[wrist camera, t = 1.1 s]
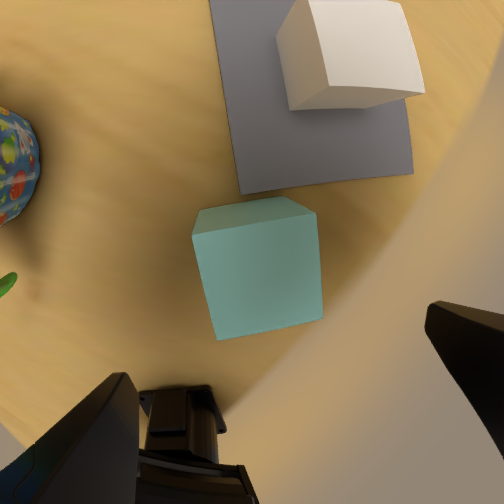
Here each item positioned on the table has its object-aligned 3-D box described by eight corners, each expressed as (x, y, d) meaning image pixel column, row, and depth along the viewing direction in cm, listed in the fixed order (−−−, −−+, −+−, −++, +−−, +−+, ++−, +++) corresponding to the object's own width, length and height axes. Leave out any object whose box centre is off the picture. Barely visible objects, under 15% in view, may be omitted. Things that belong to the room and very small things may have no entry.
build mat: (408, 173, 17) (413, 174, 17) (240, 194, 16) (240, 195, 16) (372, 0, 13) (376, -3, 12) (208, -7, 12) (208, -11, 11)
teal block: (291, 271, 18) (323, 318, 13) (215, 286, 18) (217, 340, 12) (282, 195, 17) (316, 213, 11) (199, 209, 16) (191, 235, 11)
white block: (364, 108, 15) (425, 93, 9) (289, 110, 15) (328, 85, 9) (350, 39, 13) (399, 3, 8) (275, 36, 13) (303, -14, 7)
